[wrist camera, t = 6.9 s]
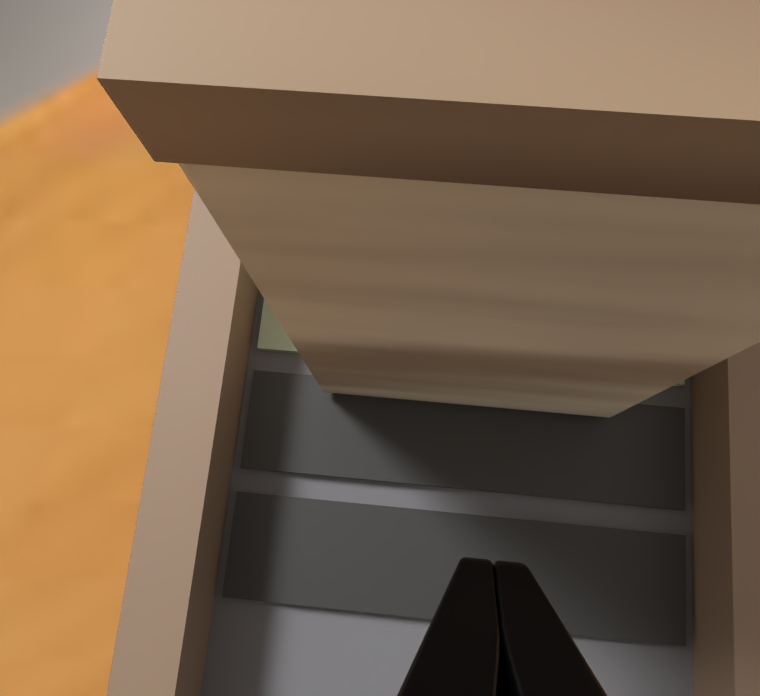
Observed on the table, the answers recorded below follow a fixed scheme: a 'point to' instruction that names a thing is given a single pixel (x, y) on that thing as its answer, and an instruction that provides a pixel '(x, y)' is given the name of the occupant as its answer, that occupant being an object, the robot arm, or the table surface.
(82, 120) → the table surface
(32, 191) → the table surface
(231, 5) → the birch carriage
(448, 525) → the box
